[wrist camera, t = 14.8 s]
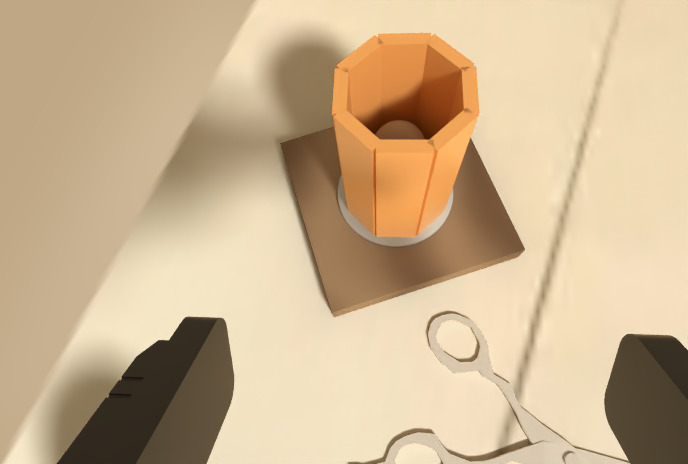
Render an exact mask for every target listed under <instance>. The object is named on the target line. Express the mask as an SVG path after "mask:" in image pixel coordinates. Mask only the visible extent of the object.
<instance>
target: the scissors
mask: <svg viewBox="0 0 688 464" xmlns="http://www.w3.org/2000/svg"><path fill="white" fill-rule="evenodd" d="M446 321H457V322H460V323H462V324H464V325H466V326H468V327H470V328H471V330H472V331H473V333H474V335H475V337H476V339H477V340H478V343H479V346H480V348H479V352H478V356H477V358H476V359H475V360H474V361H472V362H459V361H457V360H456V359H454V358H452V357H451V356H449V355H448V354H446V353H445V352H444V351H443V350H442V348H441V347H440V345H439V344H438V342H437V340H436V334H437V331H438V328H439V327H440V325H441V324H442V323H444V322H446ZM428 339H429V344H430V349H431V350H432V351H433V353H434V354H435V355H436V357H437V358H438V359H439V361H440V362H441V363H442V364H443V365H444V366H446V367H447V368H448V369H449V370H451V371H452V372H453V373H460V372H470V371H479V372H480V374H481V375H482V376H483V377H485V378H487V379H489V380H490V381H492V382H494V383H496V384H497V386H498V387H499V389H500V390H501V391H502V393H503V394H504V396H505V397H506V399H507V400H508V402H509V403H510V405H511V407H512V409H513V410H514V412H515V414H516V416H517V419H518V421H519V423H520V426H521V428H522V430H523V431H524V433H525V435H526V436H527V438H528V440H529V441H530V442H531V443H532V444H531V445H528V446H525V447H522V448H519V449H516V450H513V451H510V452H507V453H504V454H502V455H499V456H497V457H494V458H491V459H487V460H483V461H468V460H466V459H463V458H460V457H458V456H455V455H452V454H450V453H449V452H448V451H447V450H446V449H445V448H444V447H443V445H442V444H441V442H440V441H439V440H438V438H437V437H436V435H435V434H433V433H424V432H416V433H413V434H409V435H406V436H404V437H402V438H400V439H399V440H397V441H395V443H394V444H393V445H392V446H391V448H390V449H389V452H388V455H387V457H386V460H385V461H384V462H380V463H376V464H395V458H396V456H397V454H398V452H399V450H400V449H401V448H402V447H403V446H404V445H408V444H412V443H419V444H422V445H426V446H428V447H430V448H432V449H433V450H435V451H437V453H438V454H439V456H440V458H441V460H442V462H443V464H503V463H506V462H509V461H515V462H518V463H522V464H631V463H627V462H624V461H620V460H617V459H613V458H610V457H607V456H603V455H600V454H596V453H593V452H589V451H586V450H581V449H577V448H574V447H573V446H572V445H571V444H569V443H568V442H567V441H565V440H564V439H563V438H561V437H560V436H558V435H557V434H555V433H554V432H552V431H551V430H550V429H548V428H547V427H545V426H544V425H543V424H541V423H540V422H539V421H538V420H537V419H535V418H534V417H533V416H532V415H531V414H529V413H528V412H527V411H525V410H524V409H523V408H522V407H521V406H520V404H519V403H518V401H517V400H516V398H515V394H514V390H513V387H512V385H511V384H509V383H508V382H506V381H504V380H503V379H501V378H499V377H498V376H496V375H494V373H493V370H492V367H491V362H490V358H489V350H488V345H487V342H486V340H485V338H484V336H483V334H482V333H481V331H480V329H479V328H478V327H477V326H476V325H475V324H474V323H473V322H472V321H471V320H470V319H467V318H465V317H463V316H461V315H458V314H451V313H450V314H446V315H441V316H439V317H437V318H435V319H434V320H433V322H432V323H431V324H430V328H429V331H428Z"/></svg>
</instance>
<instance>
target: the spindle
mask: <svg viewBox="0 0 688 464" xmlns="http://www.w3.org/2000/svg"><path fill="white" fill-rule="evenodd" d="M375 136H376V137H378V138H379V139H380V140H425V139H424V136H423V134H422V132H421V131H420V130H419V129H418V128H417V127H416V126H415V125H414V124H412V123H410V122H407V121H403V120H396V121H391V122H388V123H386V124H385V125H383V126H382V127H381V128H380V129H379V130H378V131H377V132H376V134H375ZM280 144H281V148H282V151H283V154H284V157H285V161H286V164H287V167H288V171H289V174H290V177H291V180H292V184H293V187H294V190H295V194H296V197H297V200H298V203H299V207H300V210H301V213H302V217H303V220H304V223H305V226H306V230H307V233H308V236H309V240H310V243H311V246H312V249H313V253H314V256H315V259H316V263H317V266H318V269H319V272H320V276H321V279H322V282H323V286H324V289H325V292H326V295H327V299H328V302H329V305H330V309H331V312H332V314H333V316H334V317H336V316H339V315H342V314H345V313H348V312H351V311H354V310H357V309H361V308H364V307H367V306H370V305H373V304H376V303H379V302H382V301H385V300H388V299H391V298H394V297H397V296H400V295H403V294H406V293H409V292H412V291H416V290H419V289H422V288H425V287H428V286H431V285H434V284H437V283H440V282H443V281H446V280H449V279H452V278H455V277H458V276H461V275H464V274H467V273H471V272H474V271H477V270H480V269H483V268H486V267H489V266H492V265H495V264H498V263H501V262H504V261H507V260H510V259H513V258H516V257H518V256H519V255H520V254H521V253H522V252H523V251H524V250H525V249H524V246H523V244H522V242H521V240H520V238H519V236H518V234H517V232H516V230H515V228H514V226H513V224H512V222H511V220H510V218H509V216H508V214H507V212H506V209H505V207H504V205H503V203H502V201H501V199H500V197H499V195H498V193H497V191H496V189H495V187H494V185H493V183H492V181H491V179H490V177H489V175H488V172H487V170H486V168H485V166H484V164H483V162H482V160H481V158H480V156H479V154H478V152H477V150H476V148H475V146H474V144H473V142H472V140H471V138H470V140H469V143H468V146H467V149H466V151H465V154H464V157H463V160H462V163H461V166H460V168H459V171H458V174H457V177H456V180H455V182H454V185H453V188H452V191H451V194H450V197H449V199H448V202H447V205H446V208H445V210H444V212H443V213H442V214H441V215H440V216H439V217H438V218H437V219H436V220H435V221H433V222H432V223H431V224H430V225H429V226H428V227H427V228H426V229H425V230H424V231H423V232H422V233H421V234H419V235H418V236H416V235H415V237H376V234H375V235H373V234H372V233H371V232H370V231H368V230H367V229H366V228H365V227H364V226H363V225H362V224H361V223H360V222H359V221H358V220H357V219H356V218H355V217H354V216H353V215H352V214H351V213H350V212H349V211H348V208H347V204H346V198H345V192H344V185H343V179H342V173H341V167H340V161H339V154H338V148H337V142H336V136H335V129H334V127H332V128H329V129H325V130H322V131H319V132H316V133H312V134H309V135H306V136H303V137H299V138H296V139H293V140H290V141H287V142H283V143H280Z"/></svg>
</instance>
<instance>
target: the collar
mask: <svg viewBox="0 0 688 464" xmlns="http://www.w3.org/2000/svg"><path fill="white" fill-rule="evenodd" d="M336 66H337V68H335V72H334V88H333V104H332V117H333V123H334V129H335V136H336V142H337V148H338V154H339V161H340V167H341V173H342V179H343V185H344V192H345V198H346V204H347V208H348V211H349V212H350V213H351V214H352V215H353V216H354V217H355V218H356V219H357V220H358V221H359V222H360V223H361V224H362V225H363V226H364V227H365V228H366V229H367V230H368V231H370V232H371V233H372V234H373V235H375V234H376V237H415V235H416V236H418V235H419V234H421V233H422V232H423V231H424V230H425V229H426V228H427V227H428V226H429V225H430V224H431V223H432V222H433V221H435V220H436V219H437V218H438V217H439V216H440V215H441V214H442V213H443V212H444V210H445V208H446V205H447V202H448V199H449V197H450V194H451V191H452V188H453V185H454V182H455V180H456V177H457V174H458V171H459V168H460V166H461V163H462V160H463V157H464V154H465V151H466V149H467V146H468V143H469V140H470V137H471V134H472V132H473V129H474V126H475V123H476V120H477V118H478V115H479V103H478V88H477V74H476V67H473V66H474V63H473V62H471V61H470V60H469V59H467V58H466V57H465V56H463V55H462V54H461V53H459V52H458V51H457V50H455V49H454V48H452V47H451V46H450V45H448V44H447V43H446V42H444V41H443V40H442V39H440V38H439V37H438V36H436V35H435V34H434V35H433V36H431V33H401V34H378V37H376V36H375V35H374V36H373V37H372V38H370V39H369V40H368V41H367V42H365V43H364V44H363V45H362V46H360V47H359V48H358V49H357V50H355V51H354V52H353V53H351V54H350V55H349V56H348V57H346V58H345V59H344V60H343V61H341V62H340V63H339V64H338V65H336ZM396 120H403V121H407V122H410V123H412V124H414V125H415V126H416V127H417V128H418V129H419V130H420V131H421V132H422V134H423V136H424V139H425V140H380V139H379V138H378V137H376V136H375V134H376V132H377V131H378V130H379V129H380V128H381V127H382V126H383V125H385V124H386V123H388V122H391V121H396Z"/></svg>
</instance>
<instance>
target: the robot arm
mask: <svg viewBox="0 0 688 464" xmlns="http://www.w3.org/2000/svg"><path fill="white" fill-rule="evenodd" d="M233 390H234V372H233V365H232V358H231V352H230V345H229V339H228V332H227V326H226V322H225V320H224V319H223V318H209V317H186V318H184V319H183V321H182V322H181V323H180V325H179V326H178V328H177V329H176V331H175V332H174V334H173V335H172V337H171V338H170V340H169V341H167V340H158V341H157V342H156V343H154V344H153V345H152V346H150V347H149V348H148V349H146V350H145V351H143V352H142V353H141V354H139V355H138V356H137V357H136V358H135V359H134V361H133V362H132V363H131V365H130V366H129V367H128V369H127V370H126V372H125V373H124V374H123V376H122V380H121V381H120V380H119V381H118V382H117V384H116V385H115V386H114V388H113V389H112V390H111V392H110V393H109V397H108V398H105V400H104V401H103V402H102V404H101V405H100V406H99V408H98V409H97V411H96V412H95V413H94V415H93V416H92V417H91V419H90V420H89V421H88V423H87V424H86V425H85V427H84V428H83V429H82V431H81V432H80V433H79V435H78V436H77V437H76V439H75V440H74V441H73V443H72V444H71V445H70V447H69V448H68V450H67V451H66V452H65V454H64V455H63V456H62V458H61V459H60V460H59V462H58V463H57V464H206V463H207V461H208V458H209V456H210V454H211V451H212V449H213V446H214V444H215V441H216V439H217V436H218V434H219V431H220V429H221V426H222V424H223V421H224V419H225V417H226V414H227V412H228V409H229V407H230V404H231V400H232V396H233ZM604 404H605V412H606V417H607V420H608V423H609V425H610V427H611V429H612V431H613V433H614V435H615V437H616V438H617V440H618V442H619V444H620V445H621V447H622V449H623V451H624V453H625V454H626V456H627V458H628V460H629V462H630V463H631V464H688V350H687V349H686V348H685V347H684V346H683V345H682V344H681V343H680V342H679V341H678V340H677V339H676V338H675V337H673V336H668V335H642V334H627V335H625V336H624V337H623V338H622V340H621V342H620V345H619V348H618V352H617V355H616V358H615V362H614V365H613V369H612V372H611V375H610V379H609V382H608V385H607V389H606V392H605V399H604Z"/></svg>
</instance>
